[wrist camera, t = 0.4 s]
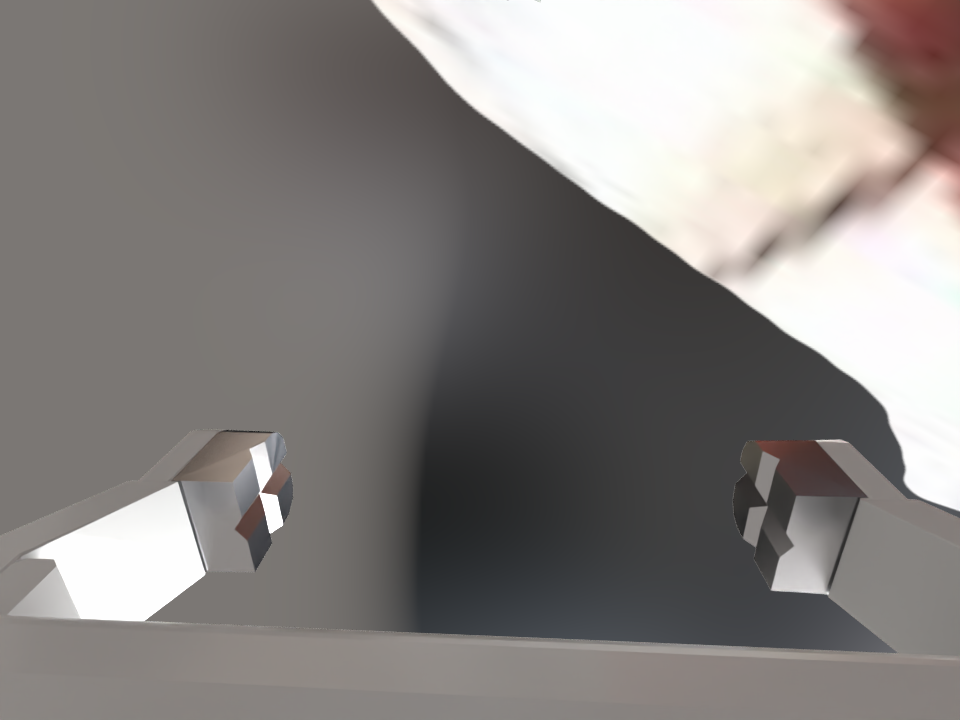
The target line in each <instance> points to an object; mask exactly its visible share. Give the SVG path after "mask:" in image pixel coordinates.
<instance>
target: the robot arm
mask: <svg viewBox="0 0 960 720" xmlns="http://www.w3.org/2000/svg"><path fill="white" fill-rule="evenodd" d="M286 453H287V452H286V448H285V443H284V439H283V437H282V436H281V435H280V434H279V433H278V432H270V431H269V432H268V431H243V430H221V429H212V430H211V429H204V430H203V429H200V430H194V431H191V432H190V433H189V434H188V435H187V436H186V437H185V438H183V439H182V440H181V441H180V442H179V443H178V444H177V445H176V446H175V447H174V448H173V449H172V450H171V451H170V452H169V453H167V455H165V456H164V457H163V458H162V459H161V460H160V461H159V462H158V463H157V464H156V465H155V466H154V467H153V468H152V469H150V470H149V471H148V472H147V473H146V474H145V475H144V476H143V477H142V478H141V479H140V480H139V481H128V482H125V483H123V484H121V485H118V486H116V487H114V488H111V489H109V490H107V491H104V492H102V493H99V494H97V495H95V496H92V497H90V498H88V499H86V500H83V501H81V502H79V503H76V504H74V505H71V506H69V507H67V508H64V509H62V510H60V511H57V512H55V513H52V514H50V515H48V516H46V517H43V518H41V519H38V520H36V521H34V522H31V523H29V524H27V525H25V526H22V527H20V528H18V529H15V530H13V531H10V532H8V533H6V534H3V535H1V536H0V720H960V518H958V517H956V516H954V515H951V514H949V513H947V512H945V511H942V510H940V509H938V508H936V507H933V506H931V505H929V504H927V503H925V502H922V501H920V500H911V499H910V500H909V499H907V498H906V497H905V496H904V495H903V494H902V493H901V492H899V491H898V490H897V489H896V488H895V487H894V486H893V485H892V484H891V483H890V482H889V481H888V480H887V479H886V478H885V477H884V476H883V475H882V474H881V473H880V472H879V471H878V470H877V469H876V468H875V467H873V465H872V464H871V463H870V462H868V461H867V460H866V459H865V458H864V457H863V456H862V455H861V454H860V453H859V452H858V451H857V450H856V449H855V448H854V447H853V446H852V445H851V444H850V443H848V442H845V441H843V440H807V441H747V443H746V444H745V446H744V448H743V451H742V455H741V460H740V462H741V464H742V466H743V467H744V469H745V470H746V472H747V473H746V474H745V475H744V476H743V477H742V478H741V479H740V480H739V481H738V482H736V484H735V489H734V495H733V512H734V518H735V521H736V525H737V528H738V530H739V532H740V534H741V536H742V538H743V539H744V540H746V541H748V542H749V543H750V544H752V545H753V546H755V547H756V550H755V555H754V560H755V562H756V564H757V565H758V568H759V569H760V571H761V573H762V575H763V577H764V578H765V580H766V582H767V584H768V586H769V588H770V590H771V591H787V592H804V593H819V594H829V595H828V597H829V598H830V599H832V600H833V601H834V602H836V603H837V604H838V605H839V606H841V607H842V608H843V609H844V610H845V611H847V612H848V613H849V614H850V615H852V616H853V617H854V618H855V619H857V620H858V621H859V622H860V623H862V624H863V625H864V626H865V627H867V628H868V629H869V630H870V631H872V632H873V633H874V634H875V635H877V636H878V637H879V638H880V639H881V640H883V641H884V642H885V643H886V644H888V645H889V646H890V647H891V648H893V649H894V650H895V651H896V652H898V653H874V652H851V651H829V650H804V649H783V648H760V647H758V648H757V647H735V646H714V645H713V646H712V645H691V644H667V643H644V642H620V641H597V640H575V639H573V640H572V639H549V638H525V637H500V636H476V635H453V634H452V635H450V634H429V633H428V634H427V633H405V632H404V633H403V632H382V631H359V630H336V629H313V628H290V627H266V626H244V625H220V624H196V623H173V622H151V621H145V620H146V619H147V618H148V617H150V616H151V615H152V614H154V613H155V612H156V611H158V610H159V609H160V608H161V607H163V606H164V605H166V604H167V603H168V602H170V601H171V600H172V599H174V598H175V597H176V596H177V595H179V594H180V593H181V592H183V591H184V590H185V589H187V588H188V587H189V586H191V585H192V584H193V583H195V582H196V581H197V580H199V579H200V578H201V577H203V576H204V575H205V572H256V570H257V568H258V566H259V565H260V563H261V561H262V560H263V558H264V556H265V554H266V553H267V551H268V550H269V548H270V546H271V544H272V540H271V535H270V533H271V532H273V531H274V530H276V529H277V528H279V527H280V526H282V525H283V524H284V522H285V520H286V518H287V516H288V515H289V512H290V508H291V504H292V500H293V482H292V477H291V473H290V472H289V471H288V470H287V469H286V468H285V467H284V466H283V465H282V464H281V461H282V460H283V458H284V456H285V455H286Z"/></svg>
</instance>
